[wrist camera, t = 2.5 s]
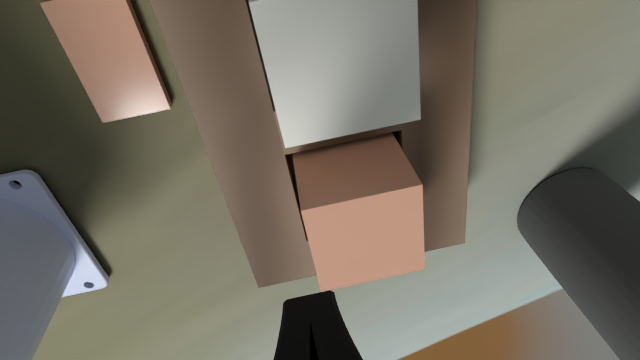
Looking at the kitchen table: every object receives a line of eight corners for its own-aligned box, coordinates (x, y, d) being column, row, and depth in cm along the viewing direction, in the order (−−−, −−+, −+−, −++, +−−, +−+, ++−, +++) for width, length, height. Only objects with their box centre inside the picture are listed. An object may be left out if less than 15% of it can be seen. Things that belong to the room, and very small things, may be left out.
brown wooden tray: (258, 247, 24) (258, 288, 22) (16, -441, 10) (-59, -547, 8) (443, 207, 24) (464, 242, 22) (449, -524, 10) (509, -654, 8)
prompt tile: (106, 118, 19) (102, 123, 18) (45, 0, 16) (39, 3, 15) (172, 104, 19) (170, 109, 18) (123, -16, 16) (120, -14, 15)
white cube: (278, 97, 16) (284, 148, 13) (250, -23, 14) (248, 2, 11) (387, 75, 16) (420, 119, 13) (378, -50, 14) (416, -33, 11)
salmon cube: (310, 228, 20) (320, 291, 17) (292, 153, 18) (300, 210, 15) (397, 209, 20) (425, 269, 17) (391, 132, 18) (422, 184, 15)
